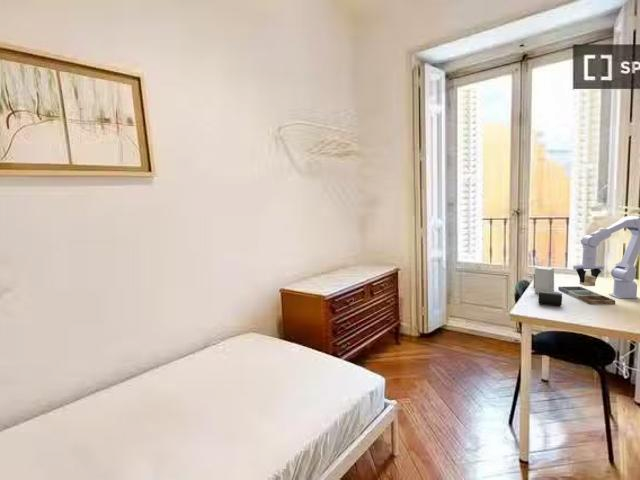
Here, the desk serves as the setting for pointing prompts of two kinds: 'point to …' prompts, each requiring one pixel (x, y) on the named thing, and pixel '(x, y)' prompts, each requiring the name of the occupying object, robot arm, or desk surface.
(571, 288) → the charcoal tray
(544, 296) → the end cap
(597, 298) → the walnut tray
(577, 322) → the desk surface
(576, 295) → the sage tray
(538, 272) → the skincare box
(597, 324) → the desk surface
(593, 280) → the maple letter cube
